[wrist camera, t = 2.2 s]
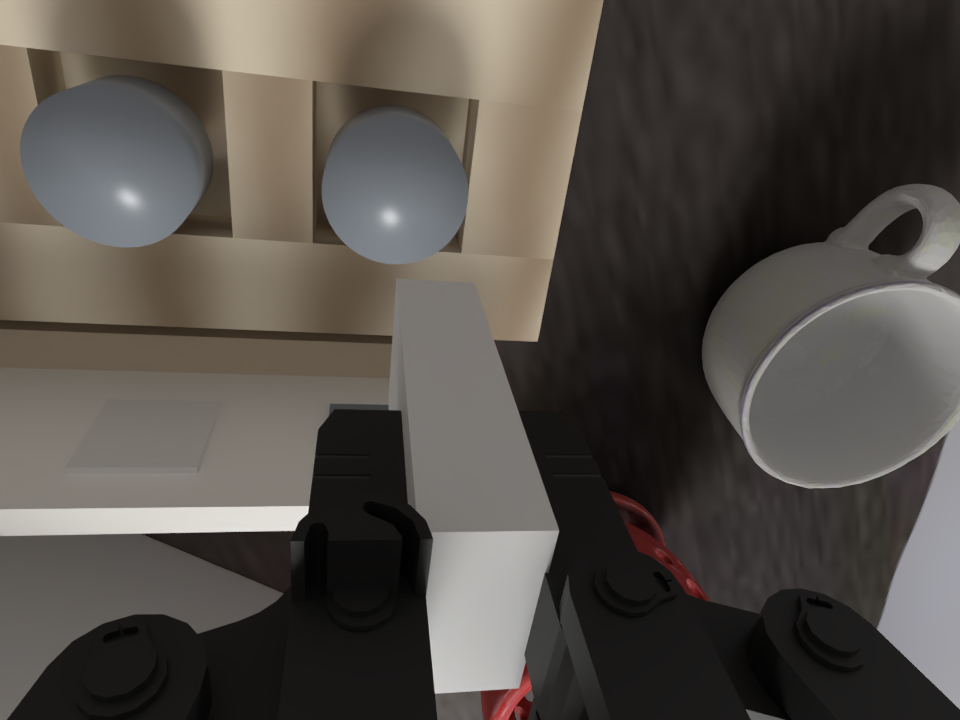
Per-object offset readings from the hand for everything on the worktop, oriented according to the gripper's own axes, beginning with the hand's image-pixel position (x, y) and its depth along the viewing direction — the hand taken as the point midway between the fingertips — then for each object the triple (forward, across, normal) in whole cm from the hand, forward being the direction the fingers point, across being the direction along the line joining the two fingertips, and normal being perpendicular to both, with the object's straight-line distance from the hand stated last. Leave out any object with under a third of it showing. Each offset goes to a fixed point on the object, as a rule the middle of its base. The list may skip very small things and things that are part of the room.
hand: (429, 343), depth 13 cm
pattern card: (+17, -9, -11) cm, 22 cm away
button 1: (+14, 0, 0) cm, 14 cm away
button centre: (+14, -9, 0) cm, 17 cm away
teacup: (+17, +21, -5) cm, 27 cm away
